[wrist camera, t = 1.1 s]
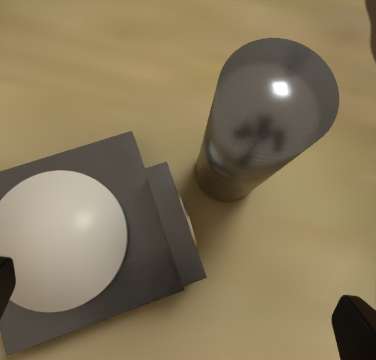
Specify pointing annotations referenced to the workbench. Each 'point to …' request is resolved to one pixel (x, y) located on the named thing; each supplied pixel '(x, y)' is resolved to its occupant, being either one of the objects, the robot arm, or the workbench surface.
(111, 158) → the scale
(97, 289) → the pan
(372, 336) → the robot arm
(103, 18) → the workbench surface
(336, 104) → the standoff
